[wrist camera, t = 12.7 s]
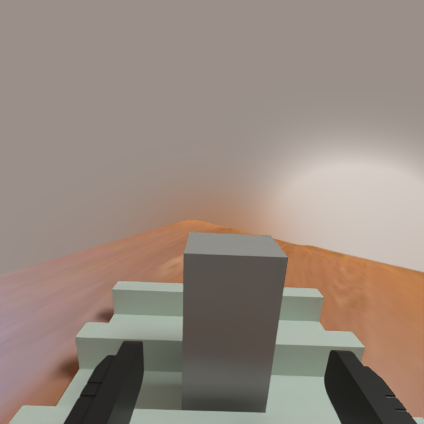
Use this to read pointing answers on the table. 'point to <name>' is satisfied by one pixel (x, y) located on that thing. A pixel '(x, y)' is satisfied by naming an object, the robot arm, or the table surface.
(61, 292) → the table surface
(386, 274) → the table surface
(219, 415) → the pale green ridged block
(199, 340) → the grey rectangular block
